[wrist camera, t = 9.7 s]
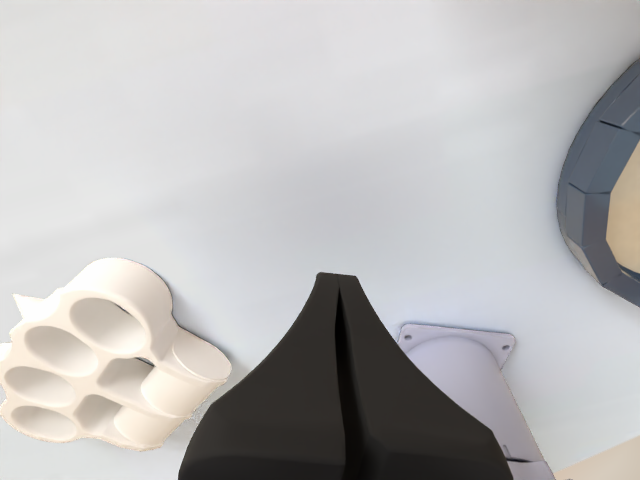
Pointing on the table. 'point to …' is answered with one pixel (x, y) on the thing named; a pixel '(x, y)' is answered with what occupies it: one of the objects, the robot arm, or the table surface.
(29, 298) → the white tube cluster
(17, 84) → the table surface
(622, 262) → the plate
